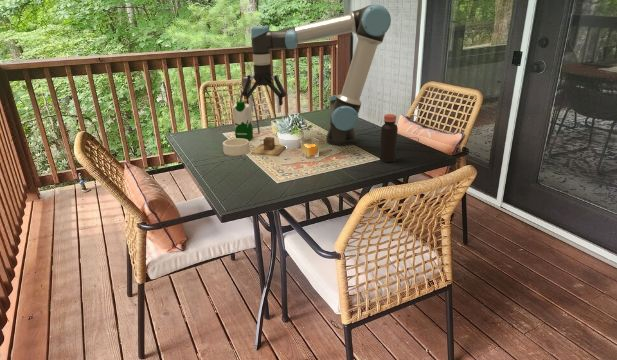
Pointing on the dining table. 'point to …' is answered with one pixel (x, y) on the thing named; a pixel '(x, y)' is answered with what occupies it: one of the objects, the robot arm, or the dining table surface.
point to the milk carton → (242, 121)
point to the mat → (270, 156)
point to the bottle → (388, 139)
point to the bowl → (236, 147)
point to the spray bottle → (244, 81)
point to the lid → (269, 148)
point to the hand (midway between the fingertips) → (265, 111)
